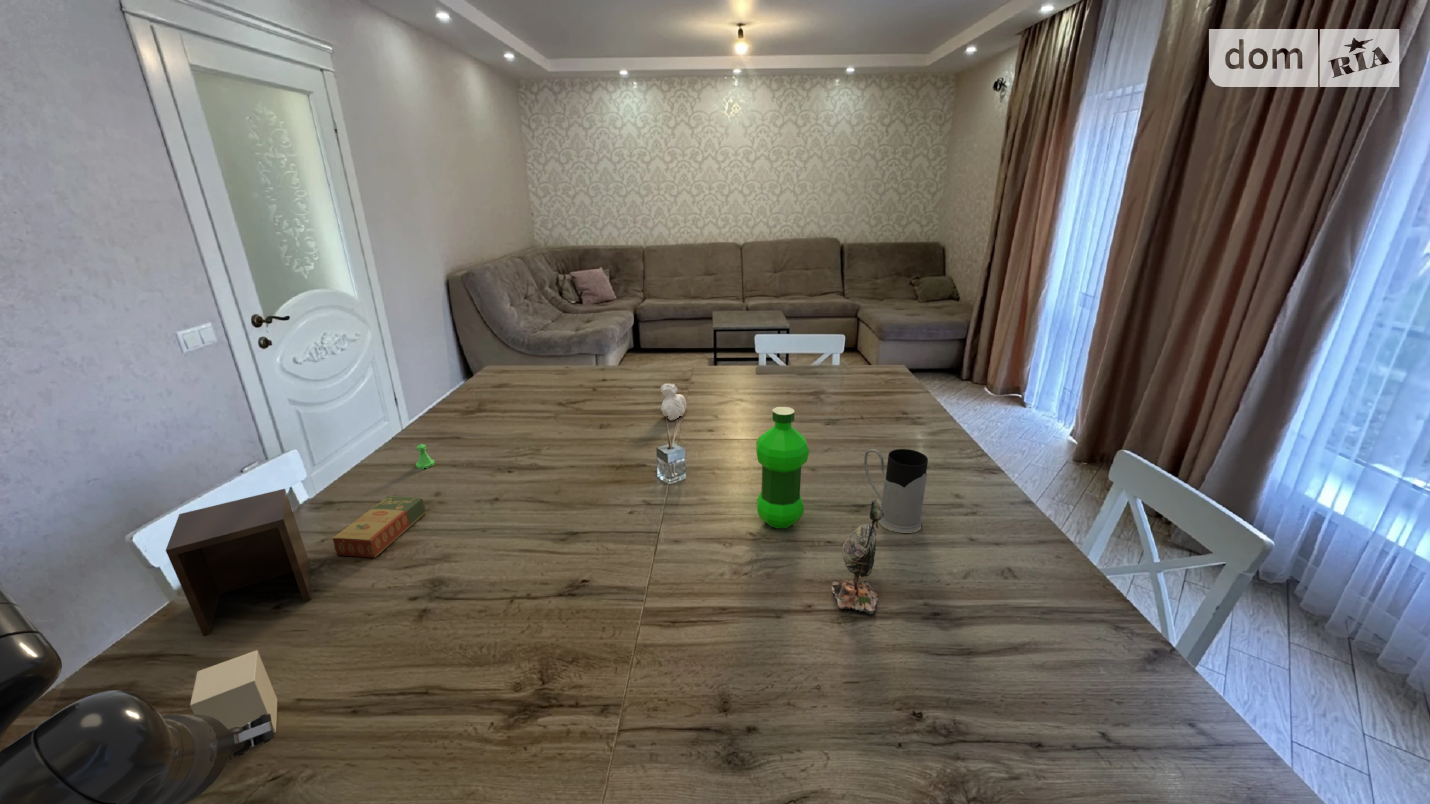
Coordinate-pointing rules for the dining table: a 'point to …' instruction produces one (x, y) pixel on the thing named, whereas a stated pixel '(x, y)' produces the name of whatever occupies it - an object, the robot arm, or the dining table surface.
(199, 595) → the walnut shelf
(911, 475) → the glass holder
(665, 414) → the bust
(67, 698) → the dining table surface
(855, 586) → the bird figurine
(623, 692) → the dining table surface
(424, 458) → the game piece
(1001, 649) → the dining table surface
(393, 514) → the carton
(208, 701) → the cream box
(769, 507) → the plastic bottle
